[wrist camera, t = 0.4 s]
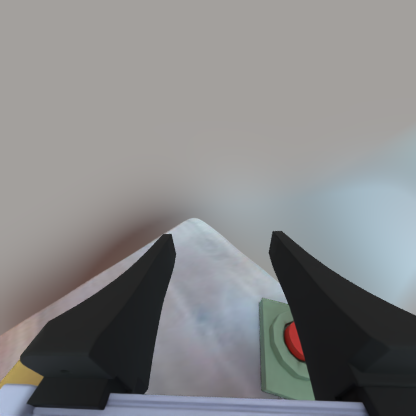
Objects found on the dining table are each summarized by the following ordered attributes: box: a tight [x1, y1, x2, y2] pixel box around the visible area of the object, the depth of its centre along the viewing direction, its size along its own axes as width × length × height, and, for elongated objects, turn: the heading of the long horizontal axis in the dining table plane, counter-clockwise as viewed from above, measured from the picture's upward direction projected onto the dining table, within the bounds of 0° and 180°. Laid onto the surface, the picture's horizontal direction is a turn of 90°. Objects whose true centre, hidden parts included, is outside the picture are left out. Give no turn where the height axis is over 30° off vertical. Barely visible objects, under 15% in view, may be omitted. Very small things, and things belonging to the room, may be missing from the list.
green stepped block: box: [259, 298, 315, 401], centre depth 21 cm, size 10×8×4 cm
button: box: [284, 322, 305, 361], centre depth 20 cm, size 4×4×2 cm
